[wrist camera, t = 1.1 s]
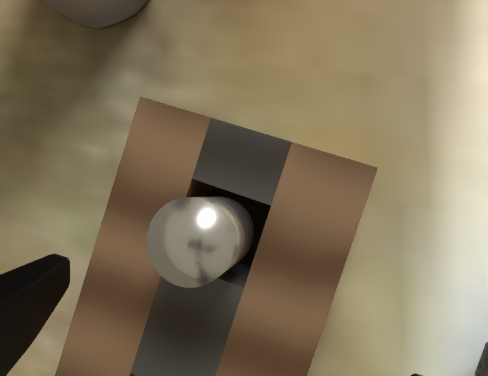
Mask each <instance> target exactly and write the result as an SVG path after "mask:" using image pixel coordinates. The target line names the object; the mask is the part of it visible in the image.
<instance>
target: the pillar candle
mask: <svg viewBox="0 0 488 376" xmlns="http://www.w3.org/2000/svg"><path fill="white" fill-rule="evenodd" d="M41 1H43V2H44V3H46V4H48V5H49V6H51V7H52V8H54V9H56V10H57V11H58V12H60V13H61V14H63V15H64V16H66V17H67V18H69V19H71V20H73V21H75V22H76V23H78V24H80V25H82V26H86V27H90V28H103V27H106V26H110V25H113V24H116V23H118V22H121V21H123V20H125V19H127V18H129V17H131V16H133V15H134V14H136V13H137V12H138V11H139V10H140V9H141V8H142V7H143V6H144V5H145V4H146V3H147V1H148V0H41Z"/></svg>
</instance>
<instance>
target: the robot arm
mask: <svg viewBox="0 0 488 376" xmlns="http://www.w3.org/2000/svg"><path fill="white" fill-rule="evenodd" d="M69 283H70V261H69V259H68V258H67V257H64V256H61V255H58V254H51V255H48V256H46V257H43V258H41V259H38V260H36V261H33V262H31V263H28V264H26V265H23V266H21V267H18V268H16V269H13V270H11V271H8V272H6V273H3V274H1V275H0V376H6V375H7V374H8V373H9V371H10V370H11V369H12V368H13V366H14V365H15V364H16V363H17V361H18V360H19V359H20V358H21V356H22V355H23V354H24V353H25V351H26V350H27V349H28V347H29V346H30V345H31V344H32V342H33V341H34V339H35V338H36V337H37V335H38V334H39V332H40V331H41V329H42V327H43V326H44V324H45V323H46V321H47V320H48V318H49V317H50V315H51V314H52V312H53V310H54V309H55V307H56V306H57V304H58V303H59V301H60V300H61V298H62V297H63V295H64V293H65V292H66V290H67V288H68V286H69ZM411 376H422V375H419V374H412V375H411Z"/></svg>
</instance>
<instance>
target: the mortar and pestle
mask: <svg viewBox="0 0 488 376" xmlns="http://www.w3.org/2000/svg"><path fill="white" fill-rule="evenodd" d="M475 374H476V376H488V342H487V343H486V345H485V347H484V350H483V353H482V356H481V358H480V361H479V364H478V367H477V370H476V372H475Z"/></svg>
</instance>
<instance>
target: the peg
mask: <svg viewBox="0 0 488 376" xmlns="http://www.w3.org/2000/svg"><path fill="white" fill-rule="evenodd" d="M253 239H254V225H253V221H252V219H251V216H250V215H249V213H248V211H247V210H246V209H245V208H244V207H243V206H242V205H241V204H240V203H239V202H237V201H235V200H233V199H231V198H227V197H185V198H179V199H175V200H173V201H171V202H169V203H167V204H166V205H164V206H163V207H162V208H161V209H160V210H159V211H158V212H157V213H156V214H155V216H154V217H153V219H152V221H151V223H150V226H149V229H148V233H147V250H148V254H149V257H150V260H151V262H152V264H153V266H154V268H155V269H156V270H157V272H158V273H159V274H160V275H161V276H162V277H163V278H164V279H166V280H167V281H169V282H170V283H172V284H174V285H177V286H180V287H185V288H195V287H201V286H204V285H206V284H209V283H210V282H212V281H214V280H215V279H216V278H218V277H219V276H220V275H222V274H223V273H224V272H225V271H227V270H228V269H229V268H231V267H232V266H233V265H235V264H236V263H237V262H239V261H240V260H241V259H243V258H244V257H245V256H246V254H247V253H248V252H249V250H250V248H251V246H252V243H253Z"/></svg>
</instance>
